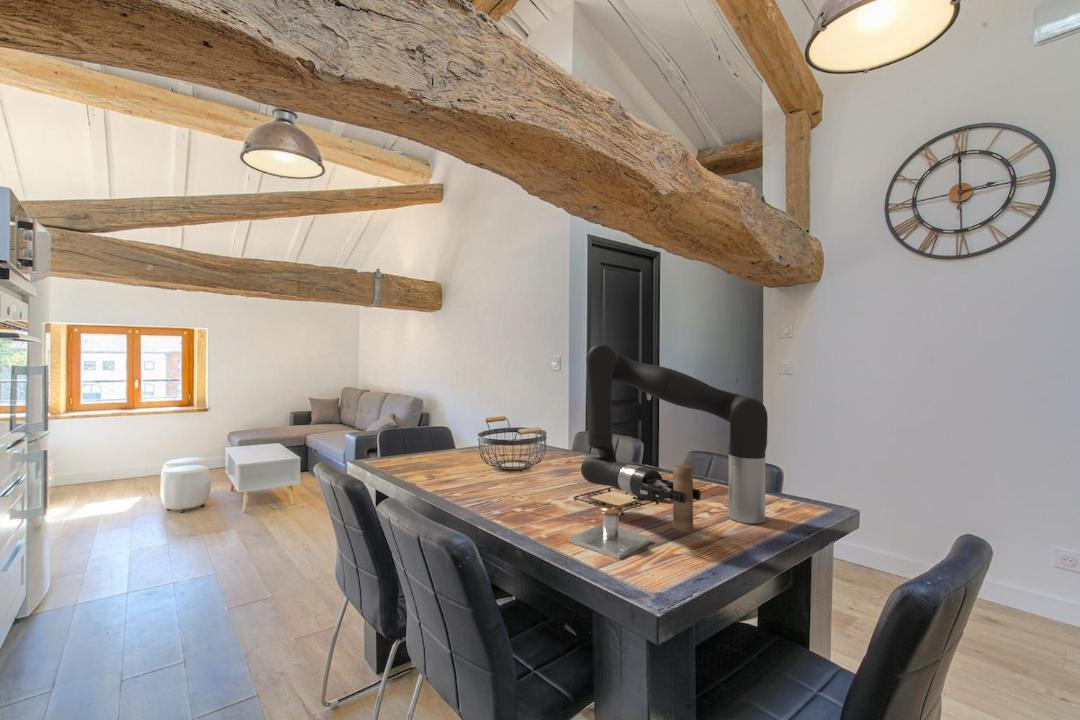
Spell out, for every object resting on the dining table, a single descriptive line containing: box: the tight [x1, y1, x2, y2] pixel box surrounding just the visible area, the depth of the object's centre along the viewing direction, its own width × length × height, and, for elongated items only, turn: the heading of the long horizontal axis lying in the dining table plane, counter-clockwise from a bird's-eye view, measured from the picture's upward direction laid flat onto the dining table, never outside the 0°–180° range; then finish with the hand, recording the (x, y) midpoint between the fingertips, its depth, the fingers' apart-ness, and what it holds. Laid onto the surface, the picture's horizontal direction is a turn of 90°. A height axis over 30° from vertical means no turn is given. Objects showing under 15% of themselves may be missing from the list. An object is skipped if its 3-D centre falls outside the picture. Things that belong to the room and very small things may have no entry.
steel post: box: [568, 504, 653, 560], centre depth 114 cm, size 14×14×8 cm
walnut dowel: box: [672, 464, 694, 532], centre depth 112 cm, size 4×4×14 cm
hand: (692, 496), depth 110 cm, fingers closed on walnut dowel, 4 cm apart
